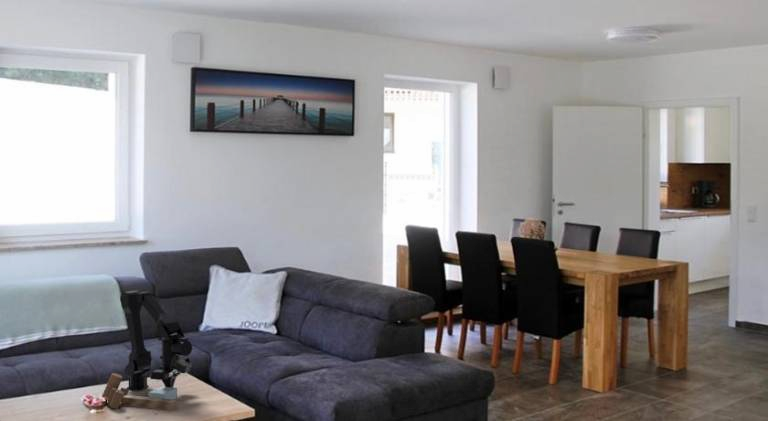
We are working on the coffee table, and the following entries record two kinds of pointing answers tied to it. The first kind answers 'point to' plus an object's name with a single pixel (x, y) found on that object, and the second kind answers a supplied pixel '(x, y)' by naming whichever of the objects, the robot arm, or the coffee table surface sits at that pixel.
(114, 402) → the wooden block set
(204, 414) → the coffee table surface
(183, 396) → the coffee table surface
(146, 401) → the brown wooden bar
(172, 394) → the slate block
